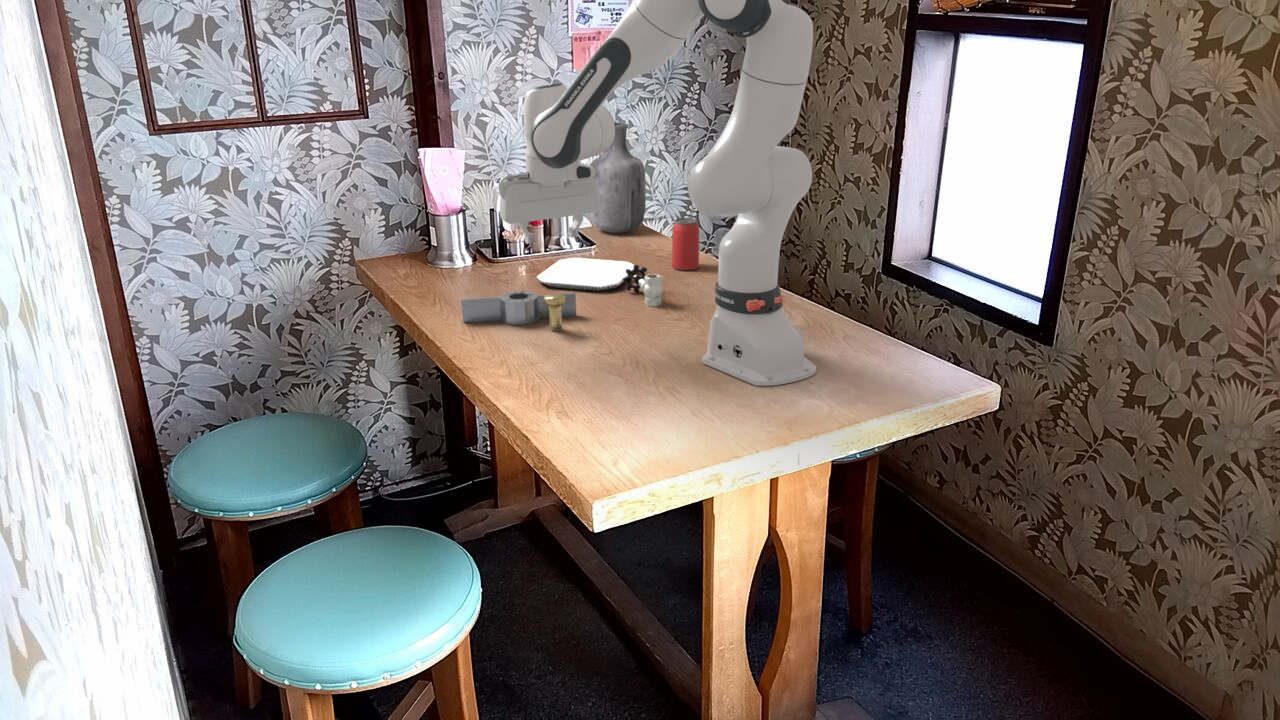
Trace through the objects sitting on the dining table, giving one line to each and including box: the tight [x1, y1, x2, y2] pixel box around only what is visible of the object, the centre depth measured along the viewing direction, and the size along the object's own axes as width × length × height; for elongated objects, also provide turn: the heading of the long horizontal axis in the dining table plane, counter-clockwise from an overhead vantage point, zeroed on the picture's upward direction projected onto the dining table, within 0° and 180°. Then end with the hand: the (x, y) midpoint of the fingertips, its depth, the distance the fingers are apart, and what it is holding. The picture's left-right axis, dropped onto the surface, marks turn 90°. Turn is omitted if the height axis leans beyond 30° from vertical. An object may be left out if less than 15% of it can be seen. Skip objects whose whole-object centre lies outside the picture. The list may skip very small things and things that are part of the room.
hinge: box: [460, 289, 577, 326], centre depth 202 cm, size 24×8×5 cm, turn 98°
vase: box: [589, 121, 647, 234], centre depth 266 cm, size 16×16×30 cm
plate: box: [536, 257, 635, 292], centre depth 229 cm, size 21×21×2 cm
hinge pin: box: [544, 292, 566, 333], centre depth 196 cm, size 4×4×7 cm
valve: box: [622, 264, 663, 308], centre depth 214 cm, size 7×7×12 cm
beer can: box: [671, 217, 700, 272], centre depth 235 cm, size 7×7×12 cm
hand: (551, 239), depth 190 cm, fingers open, 8 cm apart
